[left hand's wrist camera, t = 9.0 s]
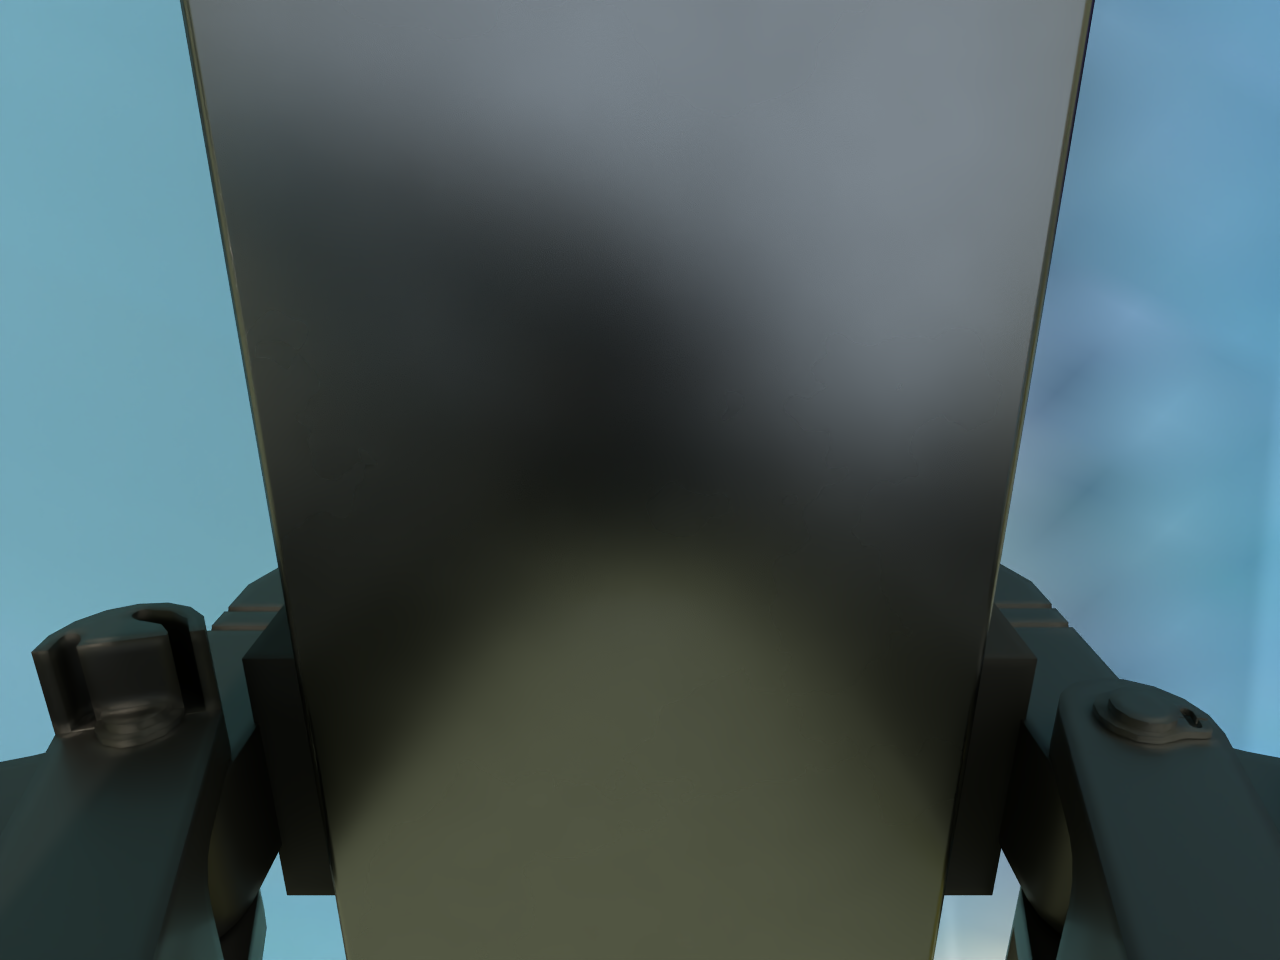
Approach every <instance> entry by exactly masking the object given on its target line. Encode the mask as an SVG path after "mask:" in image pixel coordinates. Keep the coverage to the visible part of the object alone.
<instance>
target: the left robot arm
mask: <svg viewBox="0 0 1280 960" xmlns="http://www.w3.org/2000/svg"><path fill="white" fill-rule="evenodd" d="M1051 605H1052V604H1051V603H1050V602H1049V601H1048V599H1047V598H1046V597H1045V596H1044V595H1043V594H1042V593H1041V592H1040V591H1039V589H1038V588H1037V587H1036V586H1035V585H1034V584H1033V583H1032V582H1031V581H1029V580H1028V579H1026V578H1024V577H1022V576H1021V575H1019V574H1017V573H1015V572H1014V571H1012V570H1010V569H1008V568H1007V567H1005V566H1003V565H1001V564H1000V567H999V573H998V579H997V585H996V591H995V596H994V602H993V608H992V614H991V620H990V626H989V632H988V638H987V644H986V650H985V656H984V662H983V668H982V674H981V680H980V686H979V692H978V698H977V703H976V709H975V715H974V721H973V727H972V733H971V739H970V745H969V751H968V757H967V763H966V769H965V775H964V781H963V787H962V793H961V799H960V804H959V810H958V816H957V822H956V828H955V834H954V840H953V846H952V852H951V858H950V864H949V870H948V876H947V882H946V888H945V894H944V895H992V894H993V889H994V883H995V878H996V873H997V868H998V863H999V857H1000V852H1001V848H1002V850H1003V852H1004V854H1005V856H1006V858H1007V860H1008V862H1009V864H1010V866H1011V868H1012V870H1013V872H1014V874H1015V876H1016V878H1017V880H1018V882H1019V883H1020V885H1021V887H1020V891H1019V896H1018V901H1017V906H1016V911H1015V916H1014V921H1013V925H1012V930H1011V935H1010V940H1009V945H1008V950H1007V954H1006V959H1005V960H1280V758H1277V757H1272V756H1267V755H1261V754H1256V753H1251V752H1246V751H1242V750H1238V749H1234V748H1232V746H1231V744H1230V742H1229V740H1228V738H1227V737H1226V735H1225V733H1224V732H1223V731H1222V730H1221V729H1220V727H1219V726H1218V725H1217V724H1216V723H1215V722H1214V720H1213V719H1212V718H1211V717H1210V716H1209V715H1208V714H1206V713H1205V712H1203V711H1202V710H1200V709H1199V708H1197V707H1196V706H1194V705H1192V704H1191V703H1189V702H1188V701H1186V700H1185V699H1183V698H1180V697H1178V696H1176V695H1173V694H1171V693H1168V692H1166V691H1164V690H1161V689H1159V688H1156V687H1154V686H1150V685H1145V684H1141V683H1137V682H1132V681H1128V680H1124V679H1119V678H1118V677H1117V676H1116V675H1115V674H1114V673H1113V672H1112V671H1111V669H1110V668H1109V667H1108V666H1107V665H1106V664H1105V663H1104V662H1103V661H1102V659H1101V658H1100V657H1099V656H1098V655H1097V654H1096V653H1095V652H1094V651H1093V649H1092V648H1091V647H1090V646H1089V645H1088V644H1087V643H1086V642H1085V641H1084V639H1083V638H1082V637H1081V636H1080V635H1079V634H1078V633H1077V632H1076V631H1075V629H1074V628H1073V627H1068V622H1067V621H1066V619H1065V618H1064V617H1063V616H1062V615H1061V614H1060V613H1059V612H1058V611H1057V609H1056V608H1052V607H1051ZM228 608H229V610H228V612H224V613H223V614H222V615H221V616H220V617H219V618H218V619H217V621H216V622H215V623H214V624H213V625H212V630H211V631H207V630H206V625H205V620H204V616H203V615H201V614H200V613H198V612H197V611H196V610H194V609H193V608H191V607H188V606H183V605H178V604H172V603H149V604H136V605H131V606H126V607H121V608H116V609H111V610H106V611H103V612H100V613H98V614H95V615H92V616H89V617H86V618H83V619H80V620H78V621H75V622H73V623H71V624H69V625H68V626H66V627H64V628H62V629H60V630H58V631H57V632H55V633H53V634H51V635H49V636H48V637H47V638H46V639H45V640H44V641H43V642H42V643H41V644H40V645H38V646H37V647H36V648H35V649H34V650H33V651H32V652H31V653H32V656H33V660H34V663H35V667H36V670H37V674H38V677H39V680H40V684H41V687H42V691H43V694H44V697H45V701H46V704H47V708H48V711H49V715H50V718H51V721H52V725H53V728H54V732H55V736H54V738H53V740H52V742H51V744H50V745H49V747H48V749H47V751H46V753H42V754H38V755H34V756H29V757H24V758H19V759H14V760H9V761H3V762H0V960H262V957H263V950H264V943H265V936H266V929H267V927H266V919H265V912H264V906H263V901H262V896H261V891H260V887H261V885H262V883H263V881H264V879H265V877H266V875H267V873H268V871H269V869H270V868H271V866H272V864H273V862H274V860H275V858H276V856H277V854H278V852H279V855H280V861H281V866H282V871H283V876H284V881H285V887H286V892H287V895H335V891H334V885H333V879H332V873H331V868H330V862H329V856H328V850H327V845H326V839H325V833H324V827H323V822H322V816H321V810H320V804H319V798H318V793H317V787H316V781H315V775H314V770H313V764H312V758H311V752H310V747H309V741H308V735H307V729H306V724H305V718H304V712H303V706H302V700H301V695H300V689H299V683H298V677H297V672H296V666H295V660H294V654H293V649H292V643H291V637H290V631H289V626H288V620H287V614H286V608H285V602H284V597H283V591H282V585H281V579H280V574H279V568H277V569H275V570H273V571H272V572H270V573H268V574H266V575H265V576H263V577H261V578H259V579H258V580H256V581H254V582H252V583H251V584H249V585H248V586H247V587H246V588H245V589H244V590H243V591H242V593H241V594H240V595H239V596H238V597H237V598H236V599H235V600H234V602H233V603H232V604H231V605H230V606H229V607H228Z"/></svg>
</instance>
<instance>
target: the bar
mask: <svg viewBox="0 0 1280 960" xmlns="http://www.w3.org/2000/svg"><path fill="white" fill-rule="evenodd" d="M1094 2H1095V0H180V3H181V9H182V15H183V20H184V26H185V32H186V38H187V43H188V49H189V55H190V61H191V66H192V72H193V78H194V84H195V89H196V95H197V101H198V107H199V113H200V118H201V124H202V130H203V136H204V141H205V147H206V153H207V159H208V164H209V170H210V176H211V182H212V187H213V193H214V199H215V205H216V211H217V216H218V222H219V228H220V234H221V239H222V245H223V251H224V257H225V262H226V268H227V274H228V280H229V285H230V291H231V297H232V303H233V309H234V314H235V320H236V326H237V332H238V337H239V343H240V349H241V355H242V360H243V366H244V372H245V378H246V383H247V389H248V395H249V401H250V406H251V412H252V418H253V424H254V430H255V435H256V441H257V447H258V453H259V458H260V464H261V470H262V476H263V481H264V487H265V493H266V499H267V504H268V510H269V516H270V522H271V528H272V533H273V539H274V545H275V551H276V556H277V562H278V568H279V574H280V579H281V585H282V591H283V597H284V602H285V608H286V614H287V620H288V626H289V631H290V637H291V643H292V649H293V654H294V660H295V666H296V672H297V677H298V683H299V689H300V695H301V700H302V706H303V712H304V718H305V724H306V729H307V735H308V741H309V747H310V752H311V758H312V764H313V770H314V775H315V781H316V787H317V793H318V798H319V804H320V810H321V816H322V822H323V827H324V833H325V839H326V845H327V850H328V856H329V862H330V868H331V873H332V879H333V885H334V891H335V896H336V902H337V908H338V914H339V920H340V925H341V931H342V937H343V943H344V948H345V954H346V960H933V959H934V953H935V947H936V941H937V935H938V929H939V923H940V917H941V911H942V905H943V900H944V894H945V888H946V882H947V876H948V870H949V864H950V858H951V852H952V846H953V840H954V834H955V828H956V822H957V816H958V810H959V804H960V799H961V793H962V787H963V781H964V775H965V769H966V763H967V757H968V751H969V745H970V739H971V733H972V727H973V721H974V715H975V709H976V703H977V698H978V692H979V686H980V680H981V674H982V668H983V662H984V656H985V650H986V644H987V638H988V632H989V626H990V620H991V614H992V608H993V602H994V596H995V591H996V585H997V579H998V573H999V567H1000V561H1001V555H1002V549H1003V543H1004V537H1005V531H1006V525H1007V519H1008V513H1009V507H1010V501H1011V495H1012V490H1013V484H1014V478H1015V472H1016V466H1017V460H1018V454H1019V448H1020V442H1021V436H1022V430H1023V424H1024V418H1025V412H1026V406H1027V400H1028V394H1029V389H1030V383H1031V377H1032V371H1033V365H1034V359H1035V353H1036V347H1037V341H1038V335H1039V329H1040V323H1041V317H1042V311H1043V305H1044V299H1045V293H1046V288H1047V282H1048V276H1049V270H1050V264H1051V258H1052V252H1053V246H1054V240H1055V234H1056V228H1057V222H1058V216H1059V210H1060V204H1061V198H1062V192H1063V187H1064V181H1065V175H1066V169H1067V163H1068V157H1069V151H1070V145H1071V139H1072V133H1073V127H1074V121H1075V115H1076V109H1077V103H1078V97H1079V91H1080V85H1081V80H1082V74H1083V68H1084V62H1085V56H1086V50H1087V44H1088V38H1089V32H1090V26H1091V20H1092V14H1093V8H1094Z"/></svg>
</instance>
